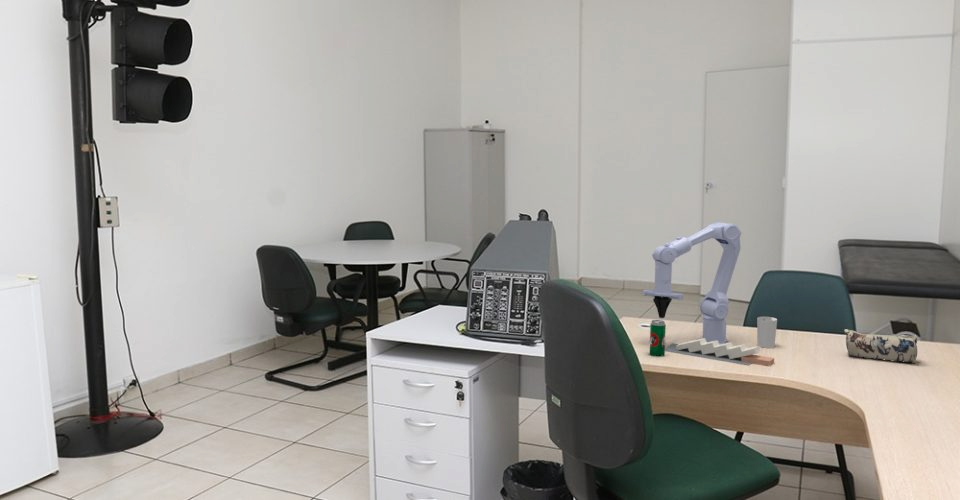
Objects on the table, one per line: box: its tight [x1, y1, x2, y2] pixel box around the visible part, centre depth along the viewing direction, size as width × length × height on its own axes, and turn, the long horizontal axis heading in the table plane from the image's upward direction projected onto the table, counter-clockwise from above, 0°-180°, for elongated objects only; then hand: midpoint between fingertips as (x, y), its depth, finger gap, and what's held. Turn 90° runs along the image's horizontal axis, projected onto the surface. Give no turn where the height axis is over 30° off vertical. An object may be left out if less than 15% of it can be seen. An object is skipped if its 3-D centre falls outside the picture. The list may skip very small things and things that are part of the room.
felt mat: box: [665, 343, 753, 366], centre depth 250 cm, size 12×31×1 cm, turn 52°
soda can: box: [649, 319, 666, 357], centre depth 248 cm, size 5×5×12 cm
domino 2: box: [688, 340, 719, 352], centre depth 251 cm, size 2×5×9 cm
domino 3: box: [701, 341, 733, 355], centre depth 248 cm, size 2×5×9 cm
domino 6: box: [741, 354, 775, 367], centre depth 240 cm, size 2×5×9 cm
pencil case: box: [844, 328, 918, 364], centre depth 245 cm, size 22×8×10 cm, turn 61°
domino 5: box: [728, 345, 762, 359], centre depth 242 cm, size 2×5×9 cm
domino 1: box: [676, 338, 706, 350], centre depth 253 cm, size 2×5×9 cm
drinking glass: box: [756, 316, 778, 349], centre depth 262 cm, size 7×7×10 cm
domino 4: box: [715, 343, 748, 357], centre depth 245 cm, size 2×5×9 cm
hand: (661, 317), depth 261 cm, fingers closed
